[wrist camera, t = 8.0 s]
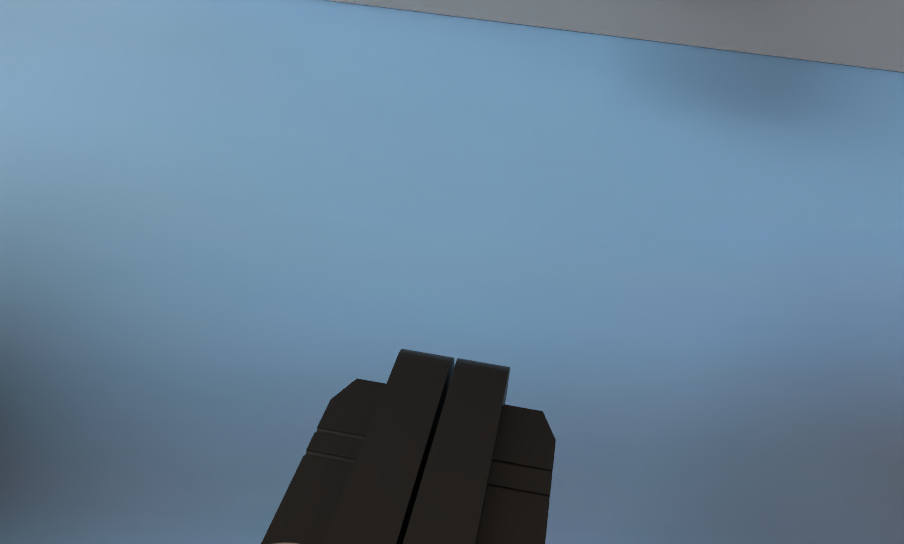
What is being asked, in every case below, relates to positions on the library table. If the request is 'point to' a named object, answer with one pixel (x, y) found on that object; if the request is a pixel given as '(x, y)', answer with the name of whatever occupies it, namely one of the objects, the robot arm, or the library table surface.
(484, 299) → the library table surface
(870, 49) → the console
